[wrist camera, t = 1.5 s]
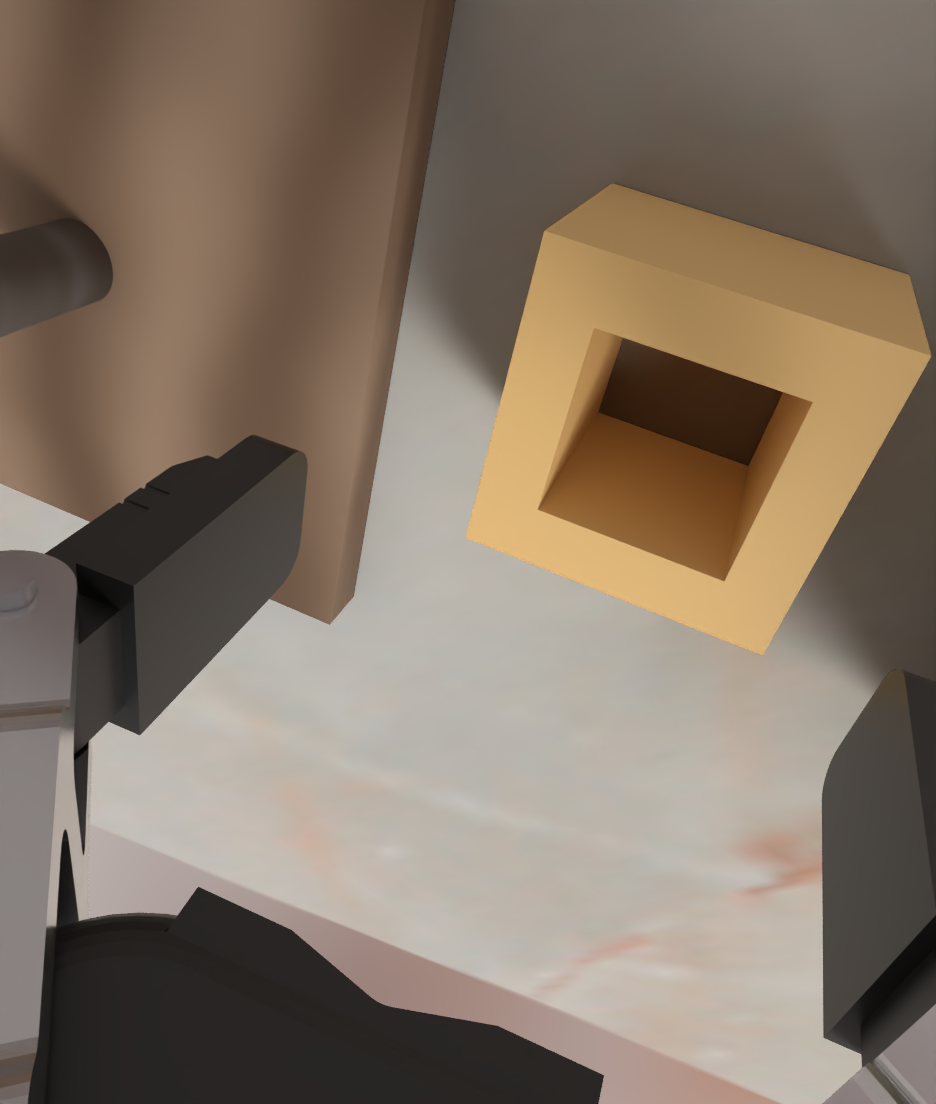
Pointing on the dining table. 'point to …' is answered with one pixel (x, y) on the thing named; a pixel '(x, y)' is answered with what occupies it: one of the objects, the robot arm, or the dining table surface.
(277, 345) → the needle stand
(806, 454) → the tan hollow square block
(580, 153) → the dining table surface
